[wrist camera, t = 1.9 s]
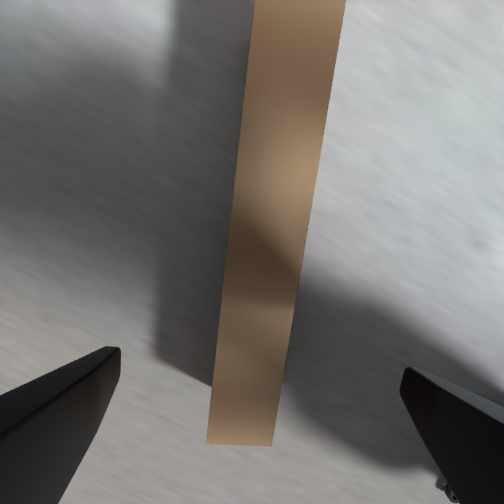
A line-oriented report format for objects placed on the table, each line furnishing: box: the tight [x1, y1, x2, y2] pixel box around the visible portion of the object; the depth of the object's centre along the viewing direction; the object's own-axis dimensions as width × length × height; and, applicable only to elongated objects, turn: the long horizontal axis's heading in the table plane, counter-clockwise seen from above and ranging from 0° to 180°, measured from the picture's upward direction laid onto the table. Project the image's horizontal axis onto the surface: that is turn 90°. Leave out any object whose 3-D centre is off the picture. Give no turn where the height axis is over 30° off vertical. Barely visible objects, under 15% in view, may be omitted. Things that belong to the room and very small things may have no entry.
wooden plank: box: [206, 0, 346, 446], centre depth 13 cm, size 18×3×4 cm, turn 173°
